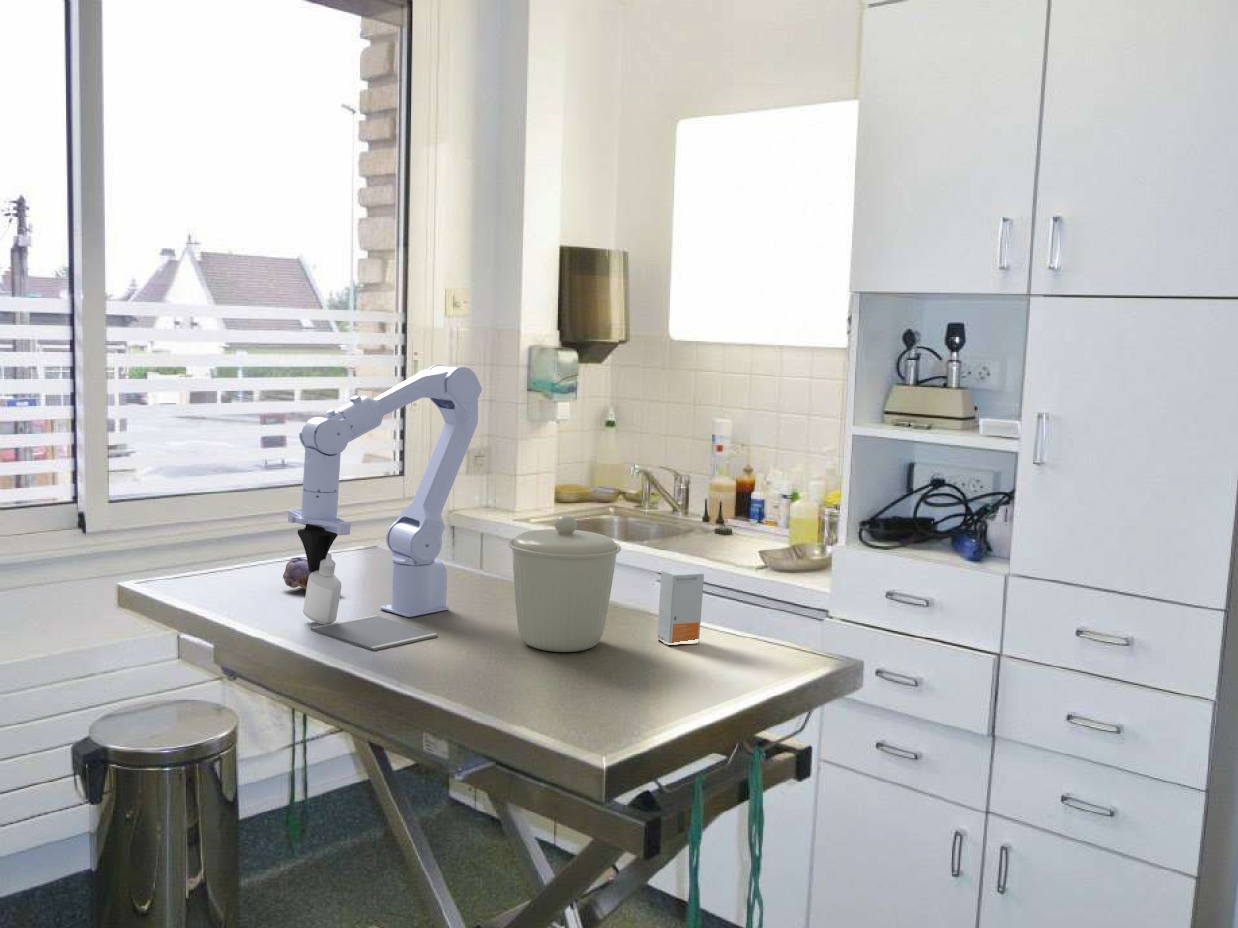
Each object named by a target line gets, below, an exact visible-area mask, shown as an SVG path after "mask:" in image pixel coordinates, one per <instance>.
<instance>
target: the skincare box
mask: <svg viewBox="0 0 1238 928" xmlns="http://www.w3.org/2000/svg"><path fill="white" fill-rule="evenodd" d="M704 580H705V574H704V573H702V572H700V571H697V570H695V569H692V568H689V569H688V568H687V569H679V568H678V569H670V570H669V569H667V570H661V574H660V585H659V587H660V589H659V602H658V617H657V618H658V619H657V631H656V639H657V638H659V639H661V640H664V641H665V642H668V643H674V642H680V641H688V640H695V639H699V640H700V635H701V620H702V619H701V618H702V609H703V608H702V607H703V592H704V591H703V590H704V582H705V581H704Z"/></svg>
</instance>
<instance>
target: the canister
mask: <svg viewBox="0 0 1238 928" xmlns="http://www.w3.org/2000/svg"><path fill="white" fill-rule="evenodd" d="M577 526H578V522H577V520H576V518H574V517H573V516H571V515H560V516H558V517H557V518H556V519H555V521H554V528H549V529H548V528H547V529H545V528H543V529H537V530H535V529H534V530H530V531H525V532H523V533H520V534H518V535H517V536H516V537H514V538H512V539H510V540H509V541H508V543H507V545H508V548H510V549H511V555H512V572H513V586H514V587H513V588H514V599H515V612H516V613H515V614H516V620H517V622H516V623H517V629H518V634H519V636H520V637H521V639H522V641H523V642H524V643H525V644H526V645H527V646H529V647H532V648H534V649H537V650H542V651H547V652H552V653H553V652H554V653H573V652H574V653H575V652H582V651H585V650H586V651H587V650H589V649H591V648H593V647H595V646H596V645H597V644H598V643H599V642H600V640H601V639H602V637H603V634H604V630H605V626H606V621H607V614H608V610H609V604H610V599H611V592H612V585H613V579H614V573H615V567H616V561H617V554H618V553H620V551H622V546H621V545H620V544H618V543H617V542H616V541H614V540H613V539H612V538H611V537H609V536H607V535H604V534H601V533H597V532H592V531H587V530H580V529H579V530H578V529H577Z"/></svg>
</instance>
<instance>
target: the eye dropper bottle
mask: <svg viewBox="0 0 1238 928" xmlns="http://www.w3.org/2000/svg"><path fill="white" fill-rule="evenodd" d="M332 556H333V555H332V554H331V553H327V556H326V559H323V560H321V562H320V568H319V570H317V571H314V572H312V573H311V574H310V575H309V578H308V583H307V589H305V597H304V604H303V610H302V611H303V614H304V616H305V617H306V618H308V619H309V620H311V621H313V622H314V623H317V624H319V625H327V624H332V623H336V621H337V618H338V617H337V616H338V611H339V604H340V597H341V592H342V582H341V580H340V579H339V578H338V576H337V575H336V574H335V569H336V564H337V563H336V562H335V560H333V559H332Z"/></svg>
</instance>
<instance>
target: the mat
mask: <svg viewBox="0 0 1238 928" xmlns="http://www.w3.org/2000/svg"><path fill="white" fill-rule="evenodd" d="M310 631H311V632H312V631H313V632H315V633H319V634H321V635H325V636H327V637H331V638H333V639H336V640H339V641H342V642H345V643H349V644H352V645H353V646H354V645H355V646H358V647H361V648H364V649H366V650H369V651H373V652H375V651H379V650H384V649H388V648H389V649H390V648H393V647H397V646H402V645H407V644H411V643H415V642H420V641H423V640H424V641H425V640H428V639H434V638H437V637H438V633H435V632H432V631H428V630H426V629H425V630H424V629H423V628H419V627H415V626H411V625H409V624H405V623H403V622H399V621H395V620H391V619H388V618H384V617H382V616H379V615H376V614H375V615H370V616H365V617H359V618H353V619H349V620H344V621H339V622H338V621H337V622H333V623H331V624H327V625H323V624H321V625H317V626H312V627H310Z"/></svg>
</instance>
